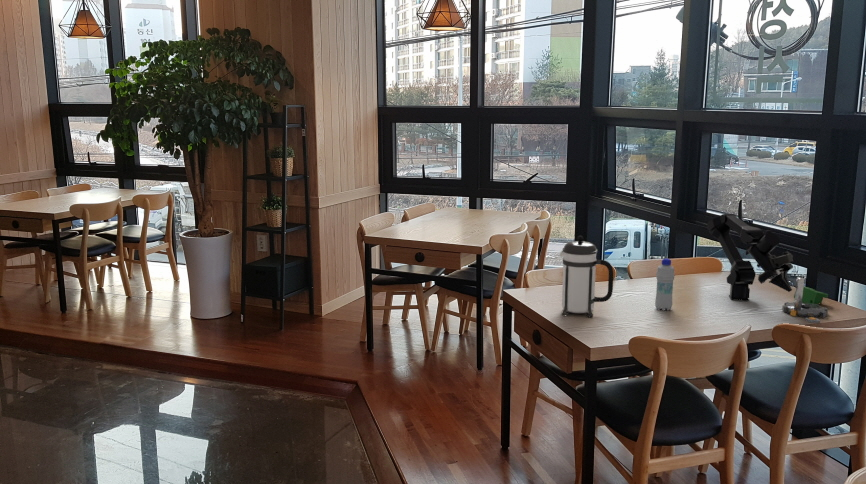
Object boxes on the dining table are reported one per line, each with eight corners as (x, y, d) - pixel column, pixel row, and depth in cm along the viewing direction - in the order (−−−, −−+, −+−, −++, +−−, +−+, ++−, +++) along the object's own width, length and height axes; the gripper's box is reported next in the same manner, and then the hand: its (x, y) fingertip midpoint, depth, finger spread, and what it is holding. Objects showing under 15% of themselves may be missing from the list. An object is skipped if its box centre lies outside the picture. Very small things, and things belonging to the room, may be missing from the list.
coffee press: (576, 321, 261) (579, 241, 255) (550, 310, 275) (552, 234, 269) (612, 315, 269) (616, 237, 263) (585, 304, 282) (588, 230, 276)
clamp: (819, 315, 281) (832, 297, 276) (806, 313, 279) (819, 295, 275) (803, 296, 291) (815, 279, 286) (791, 294, 289) (803, 276, 284)
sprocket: (788, 317, 263) (791, 280, 261) (777, 305, 278) (781, 270, 275) (833, 319, 260) (837, 282, 257) (820, 307, 275) (824, 272, 272)
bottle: (672, 307, 277) (675, 257, 273) (672, 312, 271) (675, 261, 267) (654, 305, 280) (657, 256, 276) (654, 310, 273) (656, 260, 269)
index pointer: (807, 322, 258) (807, 319, 258) (805, 319, 261) (805, 316, 261) (819, 322, 257) (819, 320, 257) (817, 320, 261) (817, 317, 260)
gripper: (769, 249, 262) (797, 283, 256) (790, 242, 274) (817, 274, 268) (746, 266, 269) (773, 300, 263) (767, 258, 281) (794, 291, 275)
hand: (790, 291), depth 267 cm, fingers closed
